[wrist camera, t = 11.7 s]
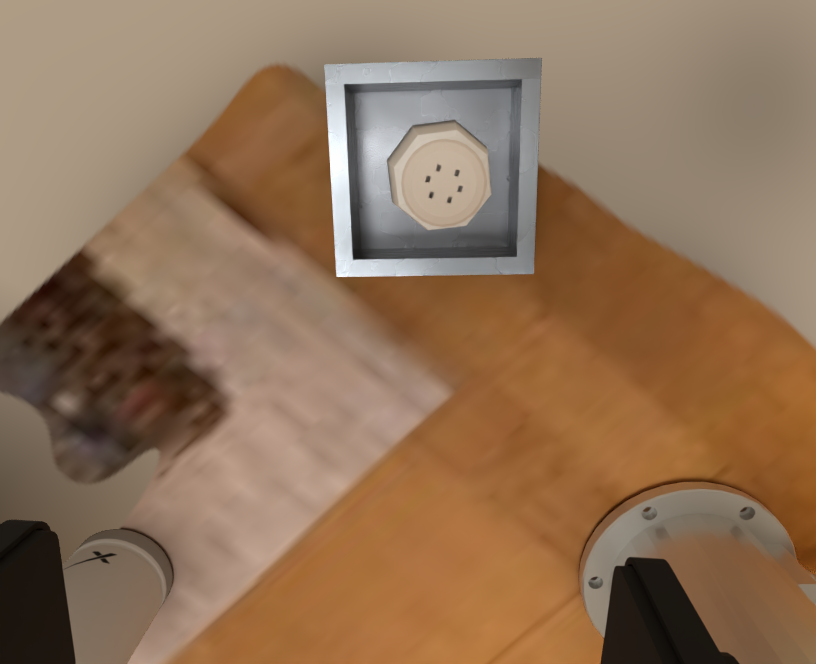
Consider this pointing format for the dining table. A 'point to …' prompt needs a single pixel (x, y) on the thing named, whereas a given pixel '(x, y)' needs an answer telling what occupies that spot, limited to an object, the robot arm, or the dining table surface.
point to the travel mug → (114, 594)
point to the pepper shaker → (439, 175)
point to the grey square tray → (387, 125)
